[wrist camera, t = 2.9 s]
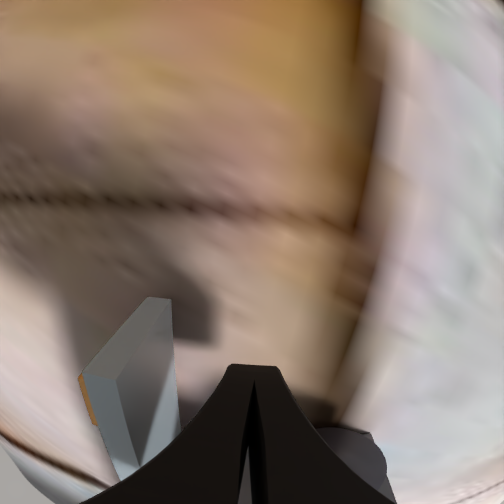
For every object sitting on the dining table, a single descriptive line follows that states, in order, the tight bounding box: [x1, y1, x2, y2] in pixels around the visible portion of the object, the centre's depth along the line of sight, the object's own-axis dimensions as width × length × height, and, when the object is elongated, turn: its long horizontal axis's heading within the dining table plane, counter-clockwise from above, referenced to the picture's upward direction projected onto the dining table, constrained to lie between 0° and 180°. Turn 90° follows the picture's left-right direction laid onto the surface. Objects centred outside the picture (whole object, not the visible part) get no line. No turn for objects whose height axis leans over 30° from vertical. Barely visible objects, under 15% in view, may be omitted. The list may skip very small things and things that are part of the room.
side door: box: [78, 297, 181, 481], centre depth 9 cm, size 18×1×4 cm, turn 176°
